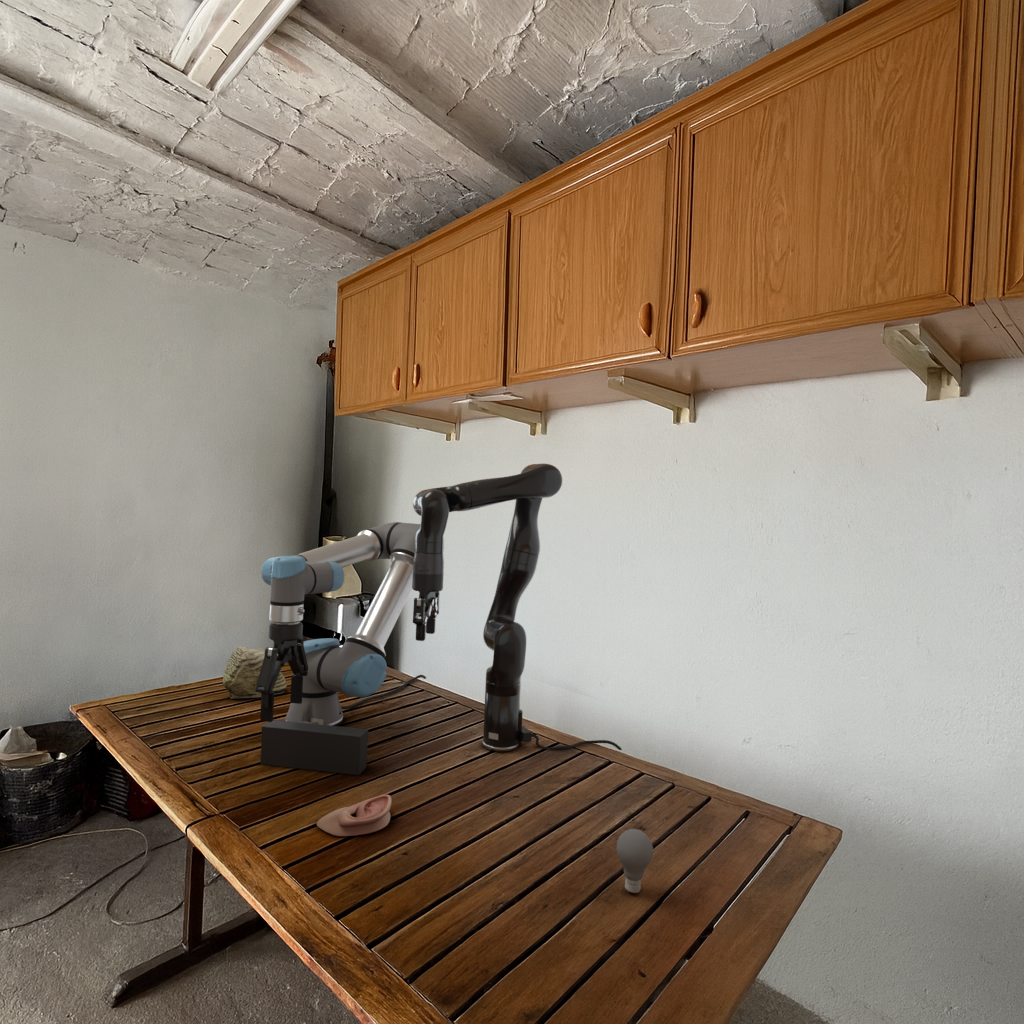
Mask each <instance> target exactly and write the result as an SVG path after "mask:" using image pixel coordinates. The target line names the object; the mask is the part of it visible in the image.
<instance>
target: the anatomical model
mask: <svg viewBox="0 0 1024 1024" xmlns="http://www.w3.org/2000/svg"><path fill="white" fill-rule="evenodd" d="M392 801H393V800H392V796H391V795H389V794H380V795H377V796H373V797H371V798H368V799H365V800H362V801H360V802H357V803H355V804H353V805H349V806H345V807H340V808H337V809H335V810H332V811H331V812H328V813H326V814H325V815H324V816H323V817H321V818H319V820H318V821H317V822H316V826H317V828H319V829H320V830H322V831H324V832H325V833H326V834H327V833H328V834H330V835H332V836H336V837H351V836H359V835H360V836H361V835H366V834H371V833H375V832H378V831H380V830H383V829H384V828H385V827H387V826H388V824H389V823H390V822H391V813H390V810H391V808H392V803H393V802H392Z"/></svg>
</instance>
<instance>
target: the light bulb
mask: <svg viewBox="0 0 1024 1024" xmlns="http://www.w3.org/2000/svg"><path fill="white" fill-rule="evenodd" d="M615 849H616V854H617V857H618V859H619V861H620V863H621V865H622V867H623V873H624V874H623V875H624V876H625V878H624V888H625V890H627V891H628V892H630V893H634V894H635V893H639V892H640V891H641V889H642V887H641V886H642V879H643V877H644V875H645V871H646V868H647V867H648V866H649V864H650V863H651V861H652V859H653V855H654V847H653V843H652V841H651V838H649V836H648V835H647V834H646V833H645V832H643V831H642V830H641V829H636V828H629V829H627V830H625V831H623V832H622V833H621V834H620V835H619V837H618V839H617V841H616V847H615Z"/></svg>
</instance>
